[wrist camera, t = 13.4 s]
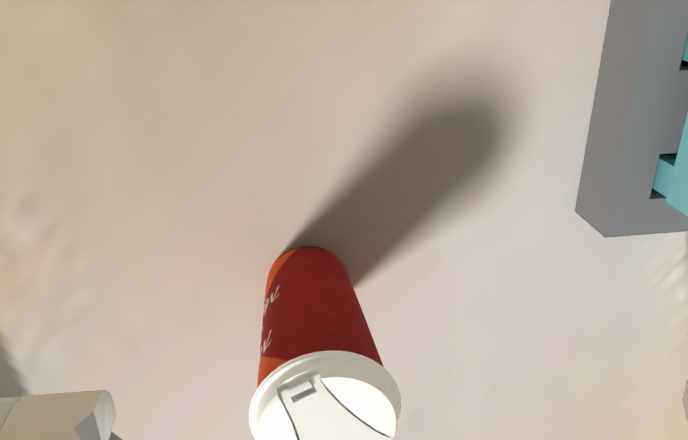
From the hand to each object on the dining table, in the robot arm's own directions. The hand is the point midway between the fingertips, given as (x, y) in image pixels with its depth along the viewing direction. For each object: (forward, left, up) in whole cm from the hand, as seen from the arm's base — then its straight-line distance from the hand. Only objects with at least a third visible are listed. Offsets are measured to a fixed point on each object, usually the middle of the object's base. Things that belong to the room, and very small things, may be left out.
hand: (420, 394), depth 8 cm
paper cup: (+16, 0, -29) cm, 33 cm away
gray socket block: (+4, +23, -29) cm, 37 cm away
